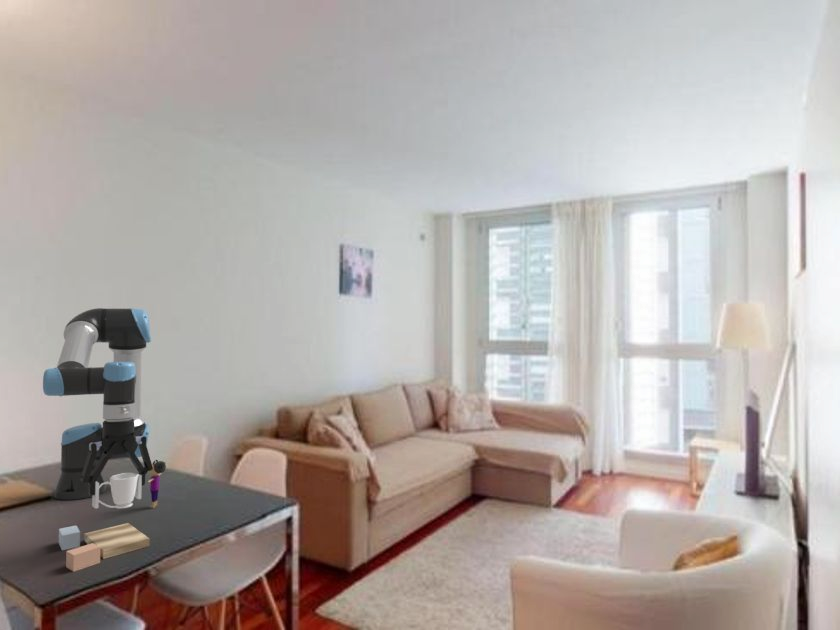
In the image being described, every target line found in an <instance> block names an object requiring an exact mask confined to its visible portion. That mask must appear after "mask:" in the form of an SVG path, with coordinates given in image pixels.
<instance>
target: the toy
mask: <svg viewBox="0 0 840 630" xmlns="http://www.w3.org/2000/svg"><path fill="white" fill-rule="evenodd" d="M152 467H153V469H152V470H151V471H148V473H149V474H150V475H152V476H151V477H150V479H149V480H148V481H147V483H148V484H149V483H150V485H149V487H150V488H149V490H150V494H151V495H150V496H151V505H149V506H148V507H149V508H150V509H155V508H156V507H157V506H158V498H159V496H158V494H159V490H160V475H162V473H164V472H165V471H166V468H167V466H166V462H165V461H161V460H159V459H155V460H153V462H152Z"/></svg>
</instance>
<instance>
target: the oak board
mask: <svg viewBox="0 0 840 630" xmlns="http://www.w3.org/2000/svg"><path fill="white" fill-rule="evenodd" d="M83 536H84V537H83V541H84V542H85V543H86V545H88V544H91V543H94V544H96V545H98V546H100V558H102V559H103V560H105V559H108V558H109V559H110V558H112V557H115V556H120V555H123V554H126V553H130V552H133V551H137V550H140V549H144V548H148V547H150V543H151V541H150V540H151V539H150V537H148V535H146V534H144V533H143V532H141V531H140V530H138V529H137V528H136V527H134V526H133V525H132V524H130V523H129V522H126V523H123V524H119V525H115V526H110V527H106V528H101V529H98V530H94V531H93V530H92V531H90V532H86V533H84V534H83Z"/></svg>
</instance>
